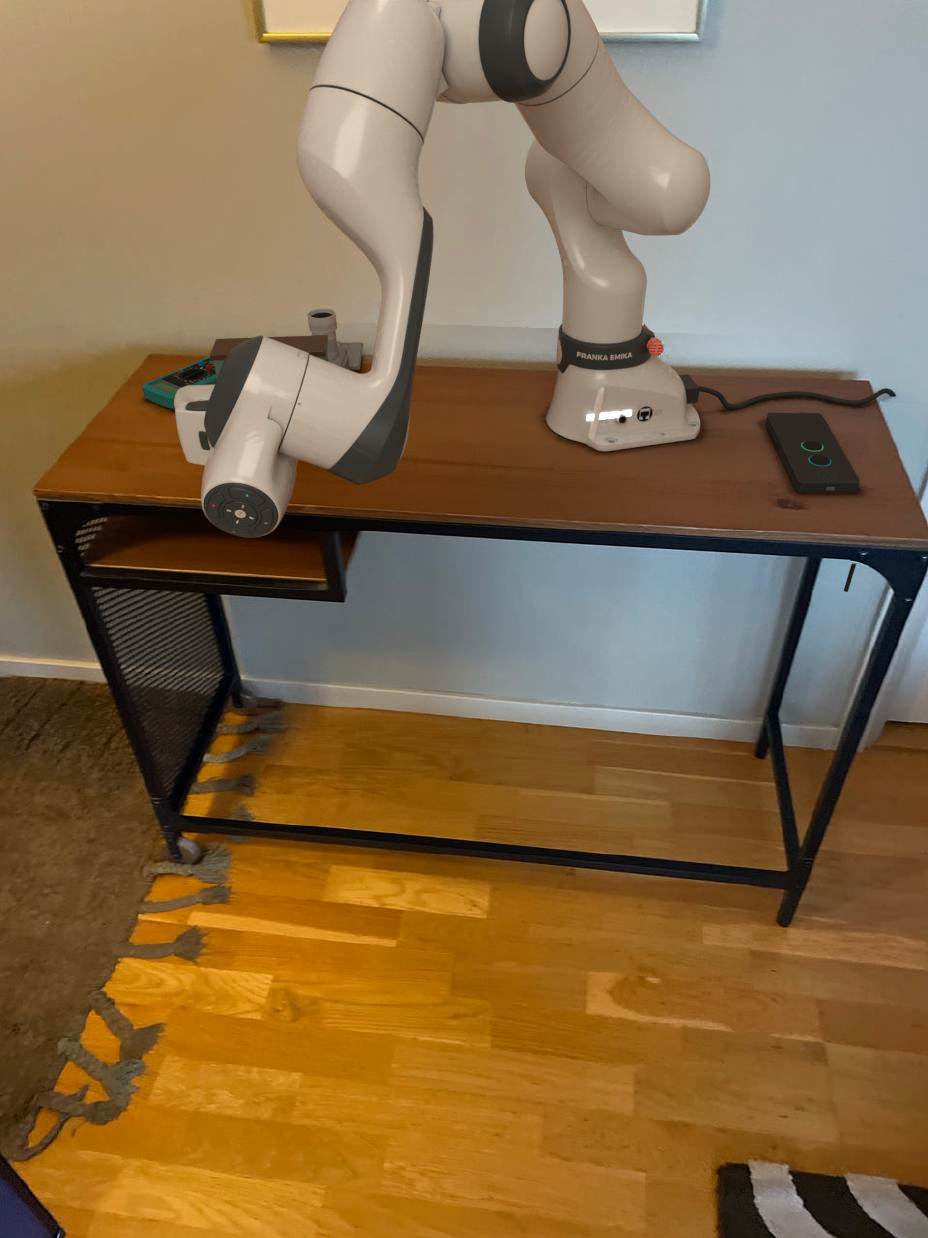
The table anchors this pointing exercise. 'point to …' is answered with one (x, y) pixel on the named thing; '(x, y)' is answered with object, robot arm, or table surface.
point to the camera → (337, 351)
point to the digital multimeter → (179, 382)
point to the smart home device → (811, 454)
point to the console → (308, 344)
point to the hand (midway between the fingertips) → (275, 378)
